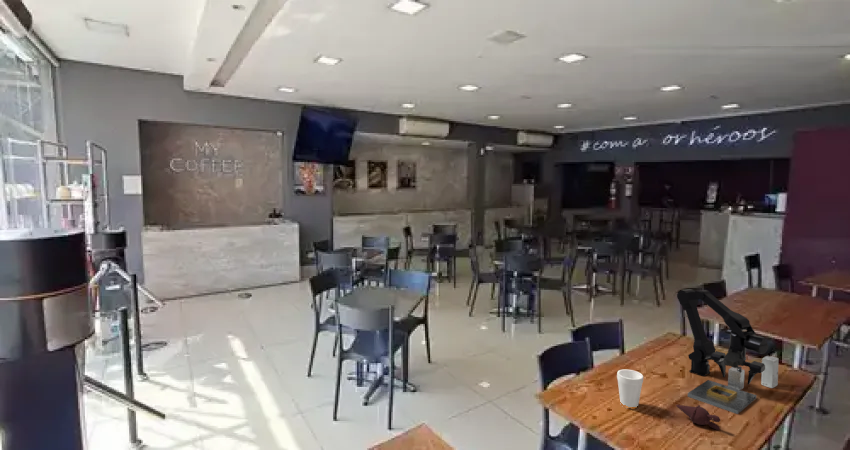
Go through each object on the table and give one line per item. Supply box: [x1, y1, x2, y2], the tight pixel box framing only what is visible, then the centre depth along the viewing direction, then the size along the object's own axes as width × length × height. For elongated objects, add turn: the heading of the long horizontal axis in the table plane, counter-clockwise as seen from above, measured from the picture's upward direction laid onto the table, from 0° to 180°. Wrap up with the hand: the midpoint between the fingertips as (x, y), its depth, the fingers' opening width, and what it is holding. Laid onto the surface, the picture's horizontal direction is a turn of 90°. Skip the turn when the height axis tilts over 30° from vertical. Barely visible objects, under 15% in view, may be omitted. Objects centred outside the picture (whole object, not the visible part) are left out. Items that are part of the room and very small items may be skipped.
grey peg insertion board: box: [687, 379, 757, 415], centre depth 182 cm, size 18×20×3 cm
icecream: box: [675, 404, 721, 431], centre depth 163 cm, size 7×7×15 cm
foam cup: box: [616, 369, 644, 407], centre depth 177 cm, size 10×9×13 cm
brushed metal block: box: [727, 366, 745, 390], centre depth 191 cm, size 4×4×10 cm
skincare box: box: [760, 355, 780, 389], centre depth 192 cm, size 6×4×12 cm
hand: (735, 380), depth 191 cm, fingers open, 9 cm apart
